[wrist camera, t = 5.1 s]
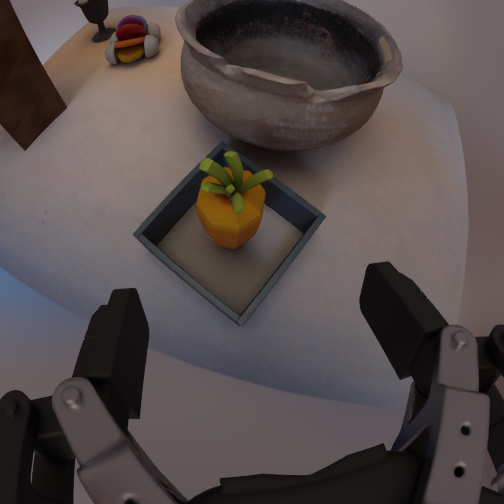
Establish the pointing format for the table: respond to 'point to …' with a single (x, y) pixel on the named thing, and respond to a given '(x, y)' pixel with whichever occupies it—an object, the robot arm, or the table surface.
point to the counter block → (23, 83)
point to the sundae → (96, 17)
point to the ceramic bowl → (285, 68)
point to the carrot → (231, 201)
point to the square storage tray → (187, 195)
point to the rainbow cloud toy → (133, 40)
